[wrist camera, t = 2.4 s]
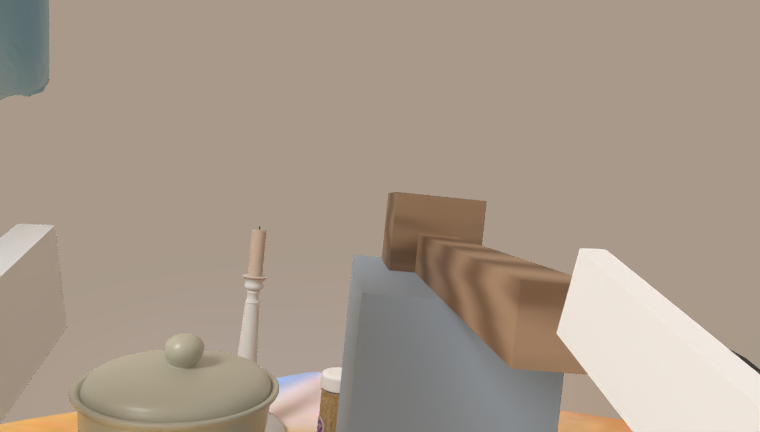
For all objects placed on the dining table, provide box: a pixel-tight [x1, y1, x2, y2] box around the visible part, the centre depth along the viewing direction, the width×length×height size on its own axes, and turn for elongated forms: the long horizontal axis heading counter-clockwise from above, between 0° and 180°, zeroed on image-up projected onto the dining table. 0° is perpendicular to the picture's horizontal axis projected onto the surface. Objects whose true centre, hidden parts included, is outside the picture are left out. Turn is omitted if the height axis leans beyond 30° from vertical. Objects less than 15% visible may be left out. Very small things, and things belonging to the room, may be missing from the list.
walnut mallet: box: [382, 192, 588, 374], centre depth 33 cm, size 30×7×6 cm, turn 4°
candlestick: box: [238, 227, 285, 432], centre depth 76 cm, size 13×13×30 cm
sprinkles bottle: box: [317, 367, 342, 432], centre depth 66 cm, size 5×5×14 cm
